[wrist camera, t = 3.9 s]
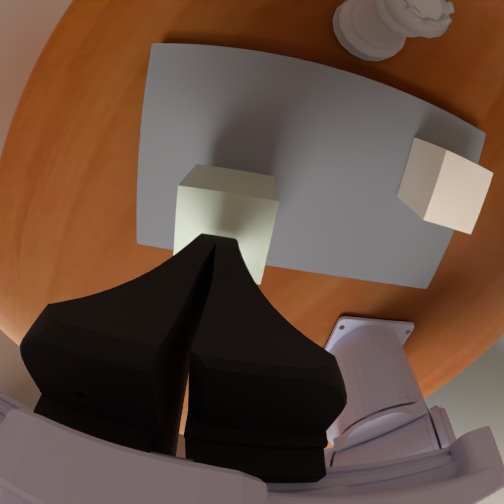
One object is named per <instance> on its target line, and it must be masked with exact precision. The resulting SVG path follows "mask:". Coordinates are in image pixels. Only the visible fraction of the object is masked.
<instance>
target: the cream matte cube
mask: <svg viewBox="0 0 504 504" xmlns="http://www.w3.org/2000/svg"><path fill="white" fill-rule="evenodd" d="M492 176H493V173H492V172H490V171H489V170H487V169H485V168H483V167H481V166H479V165H477V164H475V163H473V162H471V161H469V160H467V159H465V158H463V157H461V156H459V155H457V154H455V153H453V152H451V151H448V150H446V149H444V148H441V147H439V146H436V145H434V144H431V143H429V142H426V141H423V140H421V139H418V138H415V137H414V139H413V143H412V147H411V151H410V154H409V158H408V161H407V164H406V168H405V171H404V174H403V178H402V181H401V184H400V187H399V190H398V193H397V197H398V198H399V199H400V200H401V201H403V202H404V203H405V204H406V205H407V206H408V207H409V208H410V209H412V210H413V211H414V212H415V213H416V214H417V215H418V216H419V217H420V218H421V219H422V220H424V221H428V222H431V223H435V224H438V225H442V226H445V227H448V228H452V229H455V230H458V231H461V232H464V233H468V234H471V233H472V231H473V228H474V226H475V223H476V221H477V218H478V216H479V213H480V211H481V208H482V205H483V202H484V200H485V197H486V194H487V191H488V188H489V185H490V182H491V179H492Z"/></svg>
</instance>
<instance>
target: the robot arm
mask: <svg viewBox="0 0 504 504" xmlns="http://www.w3.org/2000/svg"><path fill="white" fill-rule="evenodd" d="M341 325H343V326H341ZM340 326H341V327H340ZM414 327H415V326H414V324H413V322H405V321H392V320H380V319H369V318H359V317H349V316H342V317H340V318H339V319H338V321H337V323H336V325H335V327H334V329H333V331H332V333H331V336H330V338H329V340H328V342H327V344H326V346H325V348H324V349H323V348H322V347H320V346H319V345H317V344H316V343H314V342H313V341H311V340H310V339H308V338H307V337H306V336H305V335H303V334H302V333H301V332H300V331H298V330H297V329H296V328H295V327H293V326H292V325H291V324H290V323H289V322H288V321H287V320H286V319H285V318H284V317H283V316H282V315H281V314H280V313H279V312H278V311H277V310H276V309H275V308H274V307H273V306H272V305H271V304H270V302H269V301H268V300H267V299H266V297H265V296H264V295H263V293H262V292H261V290H260V289H259V287H258V286H257V284H256V283H255V281H254V279H253V278H252V276H251V274H250V272H249V270H248V268H247V266H246V264H245V262H244V259H243V257H242V254H241V252H240V248H239V244H238V241H237V240H236V239H235V238H229V237H223V236H217V235H211V234H204V233H201V234H200V235H198V236H197V237H196V238H195V239H194V240H193V241H191V242H190V243H189V244H188V245H187V246H185V247H184V248H183V249H182V250H180V251H179V252H178V253H176V254H175V255H174V256H173V257H171V258H170V259H168V260H167V261H165V262H164V263H162V264H161V265H159V266H158V267H156V268H155V269H153V270H151V271H149V272H147V273H146V274H144V275H142V276H140V277H138V278H136V279H134V280H131V281H129V282H126V283H124V284H122V285H119V286H117V287H114V288H112V289H109V290H106V291H103V292H100V293H97V294H93V295H90V296H86V297H82V298H78V299H73V300H68V301H63V302H58V303H53V304H48V305H47V306H46V307H45V309H44V310H43V311H42V313H41V314H40V315H39V317H38V318H37V319H36V321H35V322H34V324H33V325H32V326H31V328H30V329H29V331H28V332H27V334H26V335H25V337H24V338H23V340H22V342H21V344H20V352H21V356H22V359H23V361H24V364H25V366H26V368H27V370H28V372H29V373H30V375H31V377H32V378H33V380H34V382H35V383H36V385H37V387H38V388H39V390H40V392H41V393H42V395H41V397H40V399H39V401H38V403H37V405H36V407H35V409H34V410H33V409H32V408H30V407H27V406H26V405H24V404H22V403H20V402H18V401H16V400H14V399H12V398H11V397H9V396H7V395H5V394H3V393H2V392H0V504H475V503H477V502H479V501H481V500H483V499H484V498H486V497H488V496H490V495H491V494H493V493H495V492H497V491H498V490H500V489H501V488H503V487H504V465H503V462H502V459H501V456H500V453H499V450H498V447H497V445H496V442H495V440H494V437H493V434H492V432H491V429H490V427H489V426H486V427H482V428H479V429H476V430H473V431H470V432H468V433H466V434H464V435H462V436H461V437H459V438H458V439H457V440H456V438H455V434H454V432H453V429H452V426H451V423H450V421H449V418H448V416H447V413H446V411H445V409H444V408H438V406H434V407H433V408H431V409H430V411H431V413H430V411H429V409H428V407H427V405H426V403H425V401H424V399H423V396H422V393H421V391H420V388H419V385H418V383H417V380H416V378H415V375H414V373H413V370H412V368H411V365H410V363H409V361H408V358H407V356H406V354H405V351H404V349H403V347H402V346H403V345H404V343H405V342H406V340H407V339H408V337H409V335H410V334H411V332H412V331H413V329H414ZM188 374H189V397H188V415H187V420H186V426H185V431H184V438H185V449H186V458H180V457H176V449H177V442H178V435H179V428H180V421H181V415H182V409H183V403H184V397H185V391H186V385H187V380H188ZM327 439H328V440H329V442H330V443H331V444H332V445H333V446H334V450H331V451H329V452H328V453H327V455H326V457H324V448H326V447H327V444H328V441H327Z"/></svg>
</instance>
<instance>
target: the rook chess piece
mask: <svg viewBox="0 0 504 504" xmlns="http://www.w3.org/2000/svg"><path fill="white" fill-rule="evenodd" d="M452 13H455V10H454V5H453V3H451V2H446V1H445V0H347V1H345V2H343V3H342V4H341V5H340V6H339V7H337V8H336V11H335V13H334V16H333V19H332V20H333V30H334V33H335V35H336V37H337V39H338V41H339V42H340V44H341V45H342V46H343V47H344V48H345V49H346V50H347V51H348V52H350V53H351V54H352V55H354V56H357V57H359V58H361V59H363V60H368V61H376V62H377V61H381V60H384V59H388V58H389V57H392V56H394V55H395V54H397V53H398V52H399V51H400V50H401V49H402V48H403V46H404V43H405V40H406V37H411V38H413V37H418V36H422V37H426V38H434V37H440V36H441V35H442V34H443V33H444V32H445V31H446V30H447V28H448V25H449V24H450V23H451V22H452V21H453V20H452V19H450V18H449V14H452Z"/></svg>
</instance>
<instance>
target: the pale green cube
mask: <svg viewBox="0 0 504 504" xmlns="http://www.w3.org/2000/svg"><path fill="white" fill-rule="evenodd" d="M278 206H279V196H278V190H277V185H276V179H275V176H270V175H264V174H258V173H253V172H247V171H241V170H235V169H228V168H222V167H215V166H208V165H201V164H196V165H195V166H194V167H193V168H192V170H191V171H190V172H189V173H188V174H187V175H186V176H185V178H184V179H183V180H182V181H181V182H180V183H179V185H178V191H177V203H176V218H175V234H174V255H175V254H176V253H178V252H179V251H180V250H182V249H183V248H184V247H185V246H187V245H188V244H189V243H190V242H191V241H193V240H194V239H195V238H196V237H197V236H198V235H200V234H201V233H204V234H211V235H217V236H223V237H229V238H235V239H236V240H237V241H238V244H239V248H240V252H241V254H242V257H243V259H244V262H245V264H246V266H247V268H248V270H249V272H250V274H251V276H252V278H253V279H254V281H255V283H256V284H261V280H262V276H263V271H264V267H265V263H266V258H267V254H268V250H269V245H270V241H271V237H272V232H273V228H274V223H275V219H276V215H277V210H278Z"/></svg>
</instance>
